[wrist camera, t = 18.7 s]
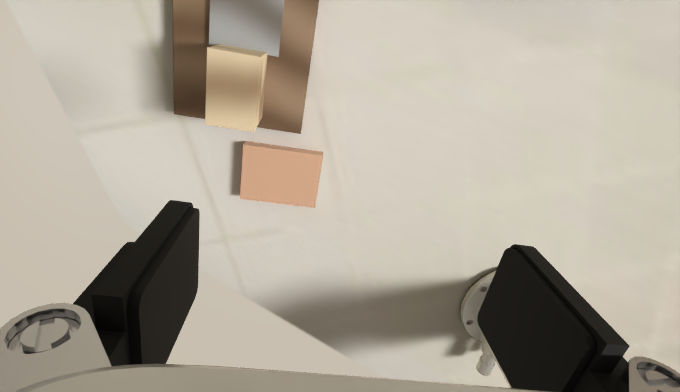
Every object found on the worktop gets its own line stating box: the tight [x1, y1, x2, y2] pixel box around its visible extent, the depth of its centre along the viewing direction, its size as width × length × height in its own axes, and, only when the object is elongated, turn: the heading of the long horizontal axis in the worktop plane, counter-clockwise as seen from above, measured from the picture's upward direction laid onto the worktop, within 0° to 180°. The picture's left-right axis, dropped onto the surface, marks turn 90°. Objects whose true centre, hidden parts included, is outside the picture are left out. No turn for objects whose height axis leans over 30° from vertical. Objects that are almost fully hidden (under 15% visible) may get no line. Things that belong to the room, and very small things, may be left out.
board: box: [173, 0, 319, 134], centre depth 33 cm, size 14×12×1 cm
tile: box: [240, 141, 323, 208], centre depth 39 cm, size 6×2×8 cm
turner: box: [205, 0, 285, 132], centre depth 30 cm, size 13×6×5 cm, turn 170°
